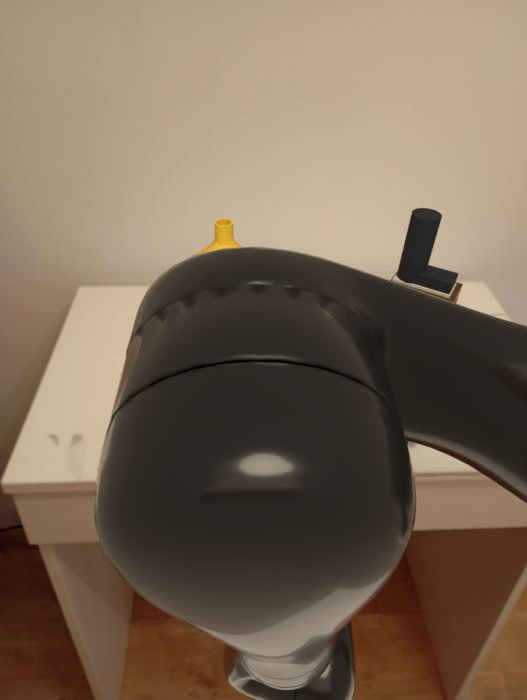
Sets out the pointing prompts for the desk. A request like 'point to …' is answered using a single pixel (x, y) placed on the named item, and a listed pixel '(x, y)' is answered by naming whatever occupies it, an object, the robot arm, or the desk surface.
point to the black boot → (423, 256)
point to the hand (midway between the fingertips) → (358, 387)
